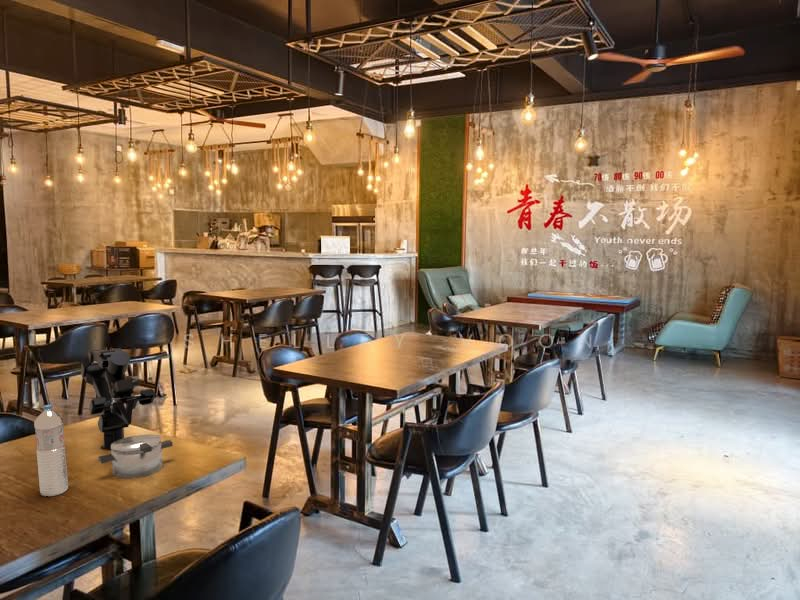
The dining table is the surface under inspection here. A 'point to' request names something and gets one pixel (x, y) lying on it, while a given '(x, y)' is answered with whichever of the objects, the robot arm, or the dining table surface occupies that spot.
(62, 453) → the water bottle
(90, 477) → the dining table surface
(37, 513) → the dining table surface
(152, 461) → the cooker pot
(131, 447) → the cooker lid
